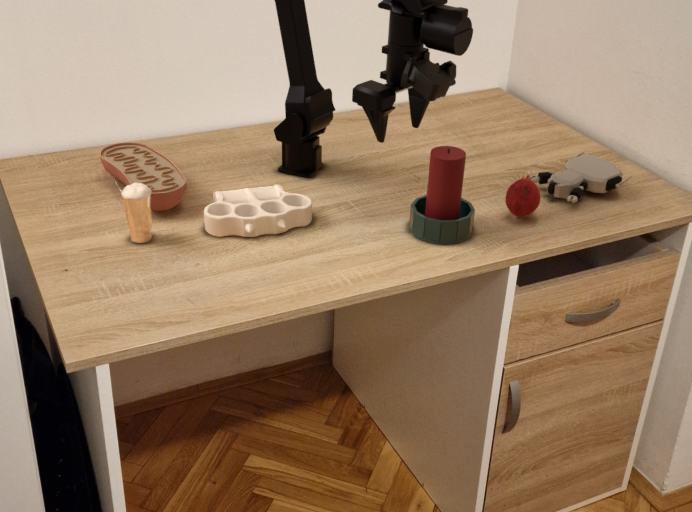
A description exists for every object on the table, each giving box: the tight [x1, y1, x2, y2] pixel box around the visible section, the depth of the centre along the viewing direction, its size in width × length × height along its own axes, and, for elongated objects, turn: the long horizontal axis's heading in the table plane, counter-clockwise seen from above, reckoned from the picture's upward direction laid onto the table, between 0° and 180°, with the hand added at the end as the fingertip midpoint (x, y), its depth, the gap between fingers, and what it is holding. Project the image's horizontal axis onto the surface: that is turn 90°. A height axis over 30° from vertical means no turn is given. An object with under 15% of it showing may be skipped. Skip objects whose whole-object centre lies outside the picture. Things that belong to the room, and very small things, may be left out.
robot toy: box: [530, 150, 634, 204], centre depth 168 cm, size 12×4×15 cm
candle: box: [425, 145, 467, 220], centre depth 151 cm, size 6×6×14 cm
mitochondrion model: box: [99, 141, 187, 212], centre depth 162 cm, size 23×10×5 cm, turn 33°
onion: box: [504, 173, 541, 219], centre depth 157 cm, size 6×6×8 cm
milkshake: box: [114, 180, 153, 244], centre depth 146 cm, size 4×5×10 cm
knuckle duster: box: [203, 183, 313, 238], centre depth 155 cm, size 3×18×15 cm
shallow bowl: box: [408, 194, 476, 245], centre depth 154 cm, size 10×10×4 cm
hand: (398, 134), depth 157 cm, fingers open, 9 cm apart
